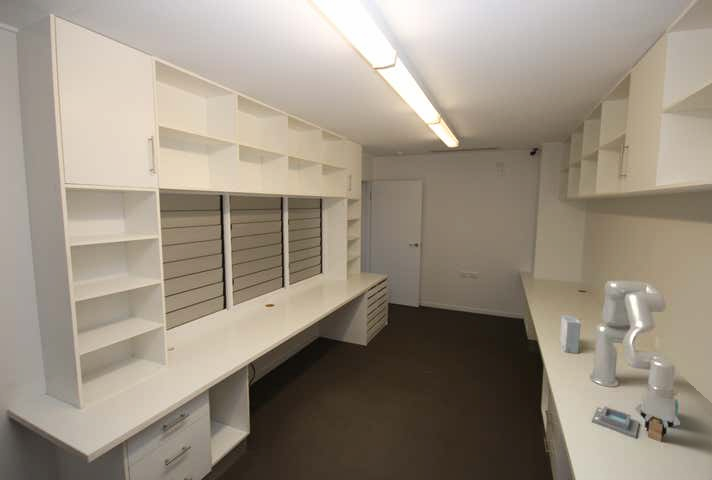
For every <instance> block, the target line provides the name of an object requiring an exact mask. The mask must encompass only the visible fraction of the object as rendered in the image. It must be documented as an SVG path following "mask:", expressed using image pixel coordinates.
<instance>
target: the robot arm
mask: <svg viewBox="0 0 712 480" xmlns="http://www.w3.org/2000/svg"><path fill="white" fill-rule="evenodd" d="M604 295H605V299H604V303H603V308H602V312H601V320H602V321H603V323H599V324H597V325H595V327H594V335H595V349H594V361H593V370H592V373H590V374H589V380H591V381H592V382H593V383H596V384H597V385H600V386H605V387H610V388H611V387H614V388H615V387H618V386H619V381H618V380H617V378H616V371H617V360H618V350H617V348H616V347H615V345H614V343H615V344H622V349H623V353H624V359H625V362H626V363H627V365H628V366H629V367H630V368H632V369H636V370H647V371H649V372H648V383H647V387H645V388H644V390H643V394H642V397H641V398H642V399H641V403H640V404H638V405H637V406H636V407H635V408H634V410H635V411H636V412H637V413H638V414H639V415H640V416H641V417H642V418H643V419H644V421H645V423H644V428H646V432H648V431H649V422H650V417H652V416H653V417H656V418H659V419H662V420H663V422H664V423H663V427H662V436H661V438H662V437H664V436H665V435H667V433H668V432H667V430H668V428H670V427H672V426H673V425H676V426H680V425H681V421H680V420H679V418H678V415H677V416H676V415H675V399H676V397H675V396H678V393H679V392H677V391H675V390H674V384H675V382H674V381H675V375H676V374H675V373H676V365H675V364H674V363H673V362H672V361H670V360H669V359H668V358H667V356H666V355H665V354H663V353H661V352H657V351H649V350H638V349H635V341H636V339H637V336H638V335H640V334H643V333H647V332H648V333H649V332H650V331H653V330H655V328H656V324H655V320H654V317H653V313H661V312H664V311H665V310H666V308H667V304H666V303H667V301H666V300H665V297H664V296H663V295H662V294H661V293H660V292H659V291H658V290H657V289H656V288H654V286H653V285H651V284H650V283H648V282H645V281H631V280H628V281H627V280H608V281H606V283H605V285H604Z"/></svg>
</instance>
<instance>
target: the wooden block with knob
mask: <svg viewBox="0 0 712 480" xmlns="http://www.w3.org/2000/svg"><path fill="white" fill-rule="evenodd" d="M649 419H650V422H649V431H647V432H648V434H647V438H649V439H652V440H654V441H658V442H660V443H661V442H662V427H663V421H662V419H659V418H656V417H653V416H650V418H649Z"/></svg>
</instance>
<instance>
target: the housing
mask: <svg viewBox="0 0 712 480" xmlns="http://www.w3.org/2000/svg"><path fill="white" fill-rule="evenodd" d="M591 423H594V424H596V425H598V426H601V427H604V428H606V427H607V428H606V429H609V428H610V429H609V430H612V431H614V430H615V432H618V433H620V434H622V435H625V436H628V437H631V438H633V439H637V435H638V429H639V425H640V421H639V420H636V419H632V415H631V414H629V413H626V412H624V411H621V410H617V409H615V408H614V409H613V408H611V407H608V406H604V408H601V407H596V410H595V413H594V414H593V416H592V419H591Z"/></svg>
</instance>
